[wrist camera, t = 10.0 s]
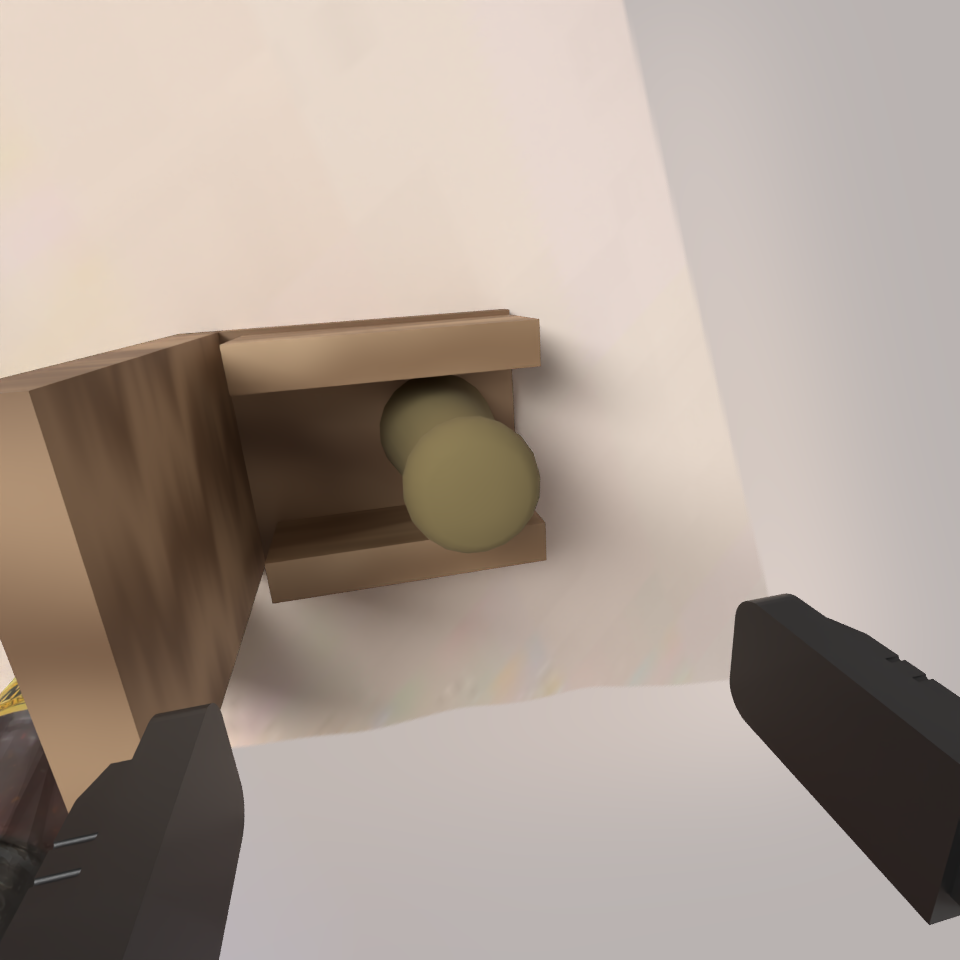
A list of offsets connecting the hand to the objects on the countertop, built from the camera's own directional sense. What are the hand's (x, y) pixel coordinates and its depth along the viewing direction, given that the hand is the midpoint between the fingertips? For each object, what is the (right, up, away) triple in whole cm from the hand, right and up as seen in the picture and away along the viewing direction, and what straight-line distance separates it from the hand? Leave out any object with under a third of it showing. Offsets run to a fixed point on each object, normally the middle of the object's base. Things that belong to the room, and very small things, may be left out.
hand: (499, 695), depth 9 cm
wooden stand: (-6, +6, +22) cm, 24 cm away
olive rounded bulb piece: (-3, +6, +22) cm, 23 cm away
